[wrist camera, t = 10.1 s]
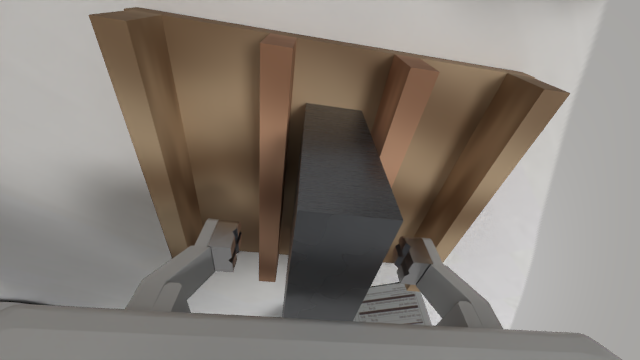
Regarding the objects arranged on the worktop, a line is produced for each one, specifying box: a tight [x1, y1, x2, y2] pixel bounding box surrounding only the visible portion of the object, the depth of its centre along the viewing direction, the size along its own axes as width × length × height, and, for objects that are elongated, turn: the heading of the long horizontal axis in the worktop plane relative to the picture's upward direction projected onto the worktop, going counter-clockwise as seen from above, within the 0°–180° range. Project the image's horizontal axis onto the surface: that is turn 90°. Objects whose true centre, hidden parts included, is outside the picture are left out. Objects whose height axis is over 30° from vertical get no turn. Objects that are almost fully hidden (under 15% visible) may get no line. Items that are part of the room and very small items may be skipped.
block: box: [282, 103, 403, 321], centre depth 13 cm, size 10×3×8 cm, turn 171°
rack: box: [89, 7, 570, 292], centre depth 16 cm, size 16×19×4 cm
